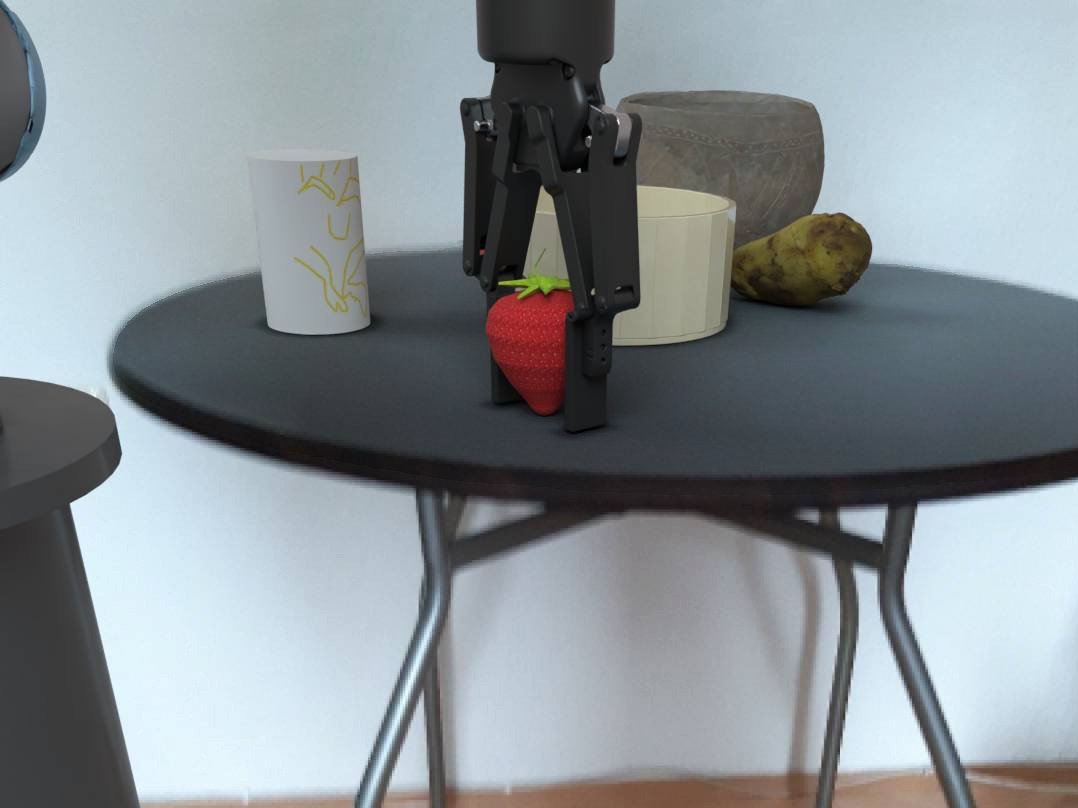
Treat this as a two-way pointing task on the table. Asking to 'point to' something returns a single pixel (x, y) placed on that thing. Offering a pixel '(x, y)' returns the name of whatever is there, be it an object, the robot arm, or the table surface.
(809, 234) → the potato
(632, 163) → the robot arm
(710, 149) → the bowl
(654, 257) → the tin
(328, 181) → the cup
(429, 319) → the table surface
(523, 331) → the strawberry
